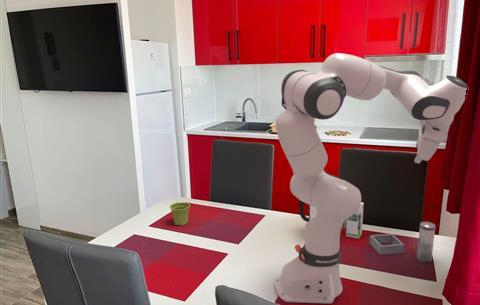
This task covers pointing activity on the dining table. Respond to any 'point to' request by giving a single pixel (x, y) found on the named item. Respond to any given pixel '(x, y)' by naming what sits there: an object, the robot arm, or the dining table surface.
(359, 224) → the syrup box
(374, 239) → the socket
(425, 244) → the tube
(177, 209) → the plant pot
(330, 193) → the robot arm
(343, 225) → the small box
